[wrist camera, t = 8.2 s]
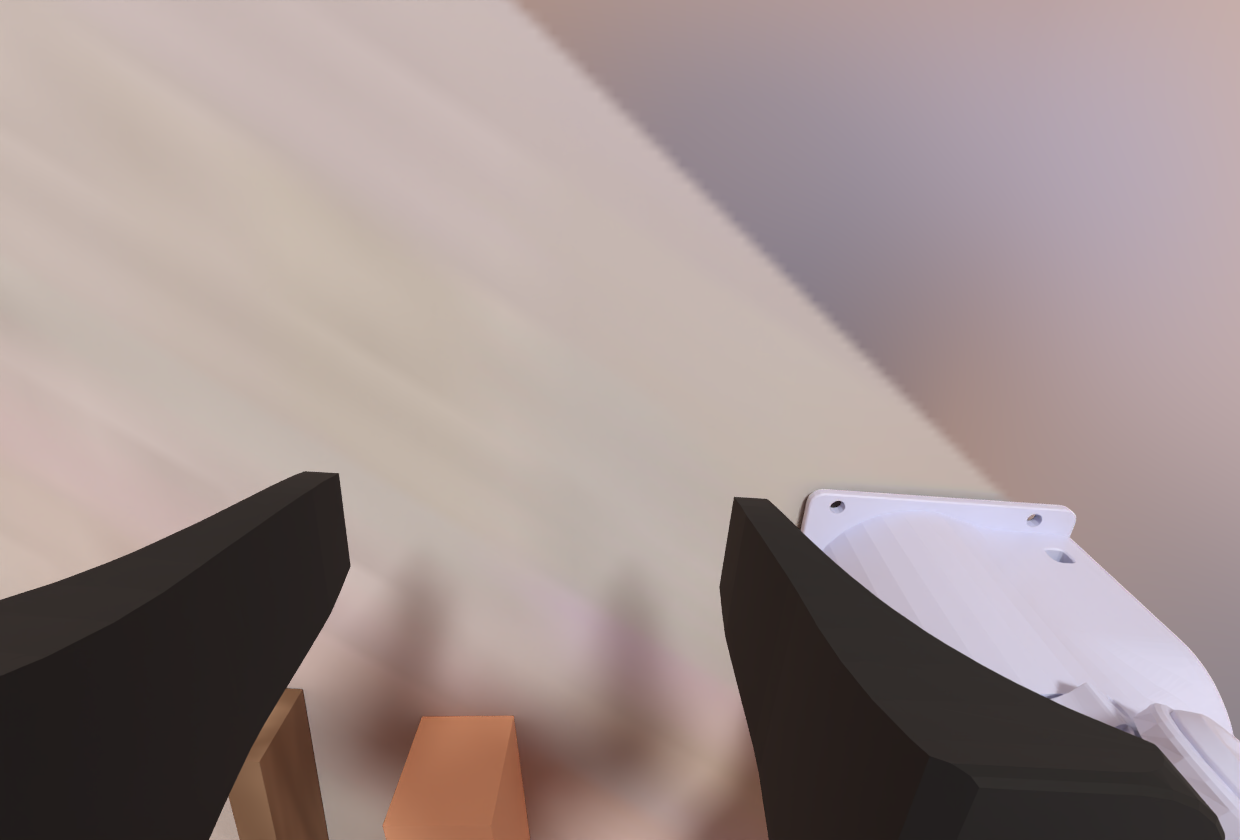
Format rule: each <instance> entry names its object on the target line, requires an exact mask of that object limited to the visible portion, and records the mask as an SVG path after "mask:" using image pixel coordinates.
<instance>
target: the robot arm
mask: <svg viewBox="0 0 1240 840" xmlns="http://www.w3.org/2000/svg"><path fill="white" fill-rule="evenodd" d="M835 501H842V503H841V504H840V505H839V506H838V507H835V508H832V507H830V506H831V504H832V503H833V502H835ZM1034 514H1036V515H1035V517H1034V518H1033V519H1031V520H1029V521H1027V519H1028V518H1029V517H1030V516H1031V515H1034ZM1075 522H1076V516H1075V513H1073V512H1072V511H1071V510H1070V509H1069V508H1067V507H1066V506H1063V505H1052V504H1051V505H1050V504H1036V503H1022V502H1007V501H993V500H978V499H963V498H949V497H934V496H919V495H905V494H890V493H875V492H860V491H846V490H831V489H819V490H816V491H814V492H812V493H811V494H810V495H809V497H808V499H807V502H806V507H805V512H804V517H803V521H802V526H801V530H800V529H799V528H797V527H796V526H795V525H794V524H793V523H792V522H791V521H790V520H789V519H788V518H787V517H786V516H785V515H784V514H783V513H782V512H781V511H780V510H779V509H778V508H777V507H776V506H775V505H773V504H772V503H771V502H770V501H769V500H768V499H758V498H741V497H734V501H733V507H732V513H731V519H730V525H729V532H728V538H727V544H726V550H725V556H724V562H723V569H722V575H721V581H720V596H721V606H722V615H723V622H724V630H725V637H726V641H727V645H728V649H729V653H730V657H731V661H732V665H733V669H734V673H735V677H736V681H737V685H738V689H739V693H740V697H741V701H742V705H743V708H744V712H745V716H746V720H747V724H748V728H749V732H750V736H751V740H752V744H753V748H754V752H755V757H756V762H757V767H758V771H759V777H760V784H761V790H762V797H763V804H764V810H765V817H766V824H767V830H768V837H769V840H1240V741H1239V740H1238V739H1236V738H1235V737H1234V736H1233V731H1232V727H1231V723H1230V720H1229V717H1228V714H1227V711H1226V708H1225V706H1224V704H1223V701H1222V699H1221V696H1220V694H1219V692H1218V690H1217V688H1216V686H1215V684H1214V682H1213V680H1212V679H1211V677H1210V675H1209V674H1208V672H1207V671H1206V669H1205V667H1204V666H1203V665H1202V664H1201V662H1200V661H1199V659H1198V658H1197V657H1196V656H1195V655H1194V653H1193V652H1192V651H1191V650H1190V649H1189V648H1188V647H1187V646H1186V645H1185V644H1184V643H1183V642H1182V641H1181V640H1180V639H1179V638H1178V637H1177V636H1176V635H1175V634H1174V633H1173V632H1172V631H1170V630H1169V629H1168V628H1167V627H1166V626H1165V625H1164V624H1163V623H1162V622H1161V621H1160V620H1159V619H1157V618H1156V617H1155V616H1154V615H1153V614H1152V613H1151V612H1150V611H1149V610H1148V609H1147V608H1146V607H1144V606H1143V605H1142V604H1141V603H1140V602H1139V601H1138V600H1137V599H1136V598H1135V597H1134V596H1133V595H1131V594H1130V593H1129V592H1128V591H1127V590H1126V589H1125V588H1124V587H1123V586H1122V585H1121V584H1120V583H1119V582H1117V581H1116V580H1115V579H1114V578H1113V577H1112V576H1111V575H1110V574H1109V573H1108V572H1107V571H1106V570H1104V569H1103V568H1102V567H1101V566H1100V565H1099V564H1098V563H1097V562H1096V561H1095V560H1094V559H1093V558H1091V557H1090V556H1089V555H1088V554H1087V553H1086V552H1085V551H1084V550H1083V549H1082V548H1081V547H1080V546H1078V545H1077V544H1076V543H1075V542H1074V541H1073V540H1072V539H1071V538H1070V535H1071V532H1072V530H1073V528H1074V525H1075ZM349 569H350V559H349V551H348V543H347V535H346V527H345V519H344V511H343V503H342V495H341V488H340V480H339V473H323V472H307V471H305V472H302V473H299V474H297V475H294V476H292V477H289V478H287V479H285V480H283V481H281V482H279V483H277V484H275V485H272V486H270V487H268V488H266V489H264V490H262V491H260V492H258V493H256V494H254V495H252V496H250V497H248V498H246V499H244V500H242V501H240V502H238V503H236V504H234V505H232V506H230V507H228V508H226V509H224V510H222V511H220V512H218V513H216V514H214V515H212V516H210V517H208V518H206V519H204V520H202V521H200V522H198V523H196V524H194V525H192V526H190V527H187V528H185V529H183V530H181V531H179V532H177V533H174V534H172V535H170V536H168V537H166V538H164V539H161V540H159V541H157V542H155V543H153V544H151V545H148V546H146V547H144V548H142V549H140V550H137V551H135V552H133V553H130V554H128V555H125V556H123V557H121V558H118V559H116V560H113V561H111V562H108V563H106V564H103V565H101V566H98V567H95V568H93V569H90V570H87V571H85V572H82V573H79V574H77V575H74V576H71V577H69V578H66V579H63V580H60V581H58V582H55V583H52V584H49V585H46V586H43V587H40V588H36V589H33V590H30V591H27V592H24V593H21V594H18V595H14V596H11V597H8V598H5V599H2V600H0V840H209V838H210V836H211V834H212V831H213V829H214V827H215V825H216V822H217V820H218V818H219V816H220V813H221V811H222V809H223V807H224V804H225V802H226V800H227V798H228V796H229V794H230V792H231V790H232V788H233V785H234V783H235V781H236V779H237V777H238V775H239V773H240V771H241V769H242V766H243V764H244V762H245V760H246V758H247V756H248V754H249V752H250V750H251V748H252V746H253V744H254V742H255V740H256V739H257V737H258V735H259V733H260V731H261V729H262V728H263V726H264V724H265V722H266V721H267V719H268V717H269V716H270V714H271V712H272V711H273V709H274V707H275V706H276V704H277V702H278V701H279V699H280V697H281V696H282V694H283V693H284V691H285V689H286V688H287V686H288V684H289V683H290V681H291V679H292V678H293V676H294V674H295V673H296V671H297V669H298V668H299V666H300V665H301V663H302V661H303V660H304V658H305V656H306V655H307V653H308V651H309V650H310V648H311V646H312V645H313V643H314V641H315V640H316V638H317V636H318V634H319V633H320V631H321V629H322V628H323V626H324V624H325V623H326V621H327V619H328V617H329V616H330V614H331V612H332V609H333V607H334V605H335V603H336V600H337V598H338V596H339V593H340V591H341V589H342V586H343V584H344V581H345V579H346V576H347V574H348V571H349Z"/></svg>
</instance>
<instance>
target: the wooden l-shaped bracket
mask: <svg viewBox="0 0 1240 840" xmlns="http://www.w3.org/2000/svg"><path fill="white" fill-rule="evenodd" d="M229 800H230V803H231V807H232V811H233V815H234V819H235V823H236V827H237V831H238V835H239V838H240V840H328V834H327V829H326V823H325V817H324V811H323V805H322V800H321V794H320V788H319V782H318V777H317V771H316V765H315V759H314V753H313V748H312V742H311V736H310V730H309V725H308V719H307V713H306V707H305V701H304V696H303V690H302V689H287V688H286V689H285V691H284V693H283V694H282V696H281V697H280V699H279V701H278V702H277V704H276V706H275V707H274V709H273V711H272V712H271V714H270V716H269V717H268V719H267V721H266V722H265V724H264V726H263V728H262V729H261V731H260V733H259V735H258V737H257V739H256V740H255V742H254V744H253V746H252V748H251V750H250V752H249V754H248V756H247V758H246V760H245V762H244V764H243V766H242V769H241V771H240V773H239V775H238V777H237V779H236V781H235V783H234V785H233V788H232V790H231V792H230V794H229Z"/></svg>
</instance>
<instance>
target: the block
mask: <svg viewBox="0 0 1240 840" xmlns="http://www.w3.org/2000/svg"><path fill="white" fill-rule="evenodd" d="M383 829H384V833H385V837H386V840H530V835H529V827H528V820H527V812H526V805H525V797H524V790H523V782H522V774H521V767H520V759H519V752H518V744H517V737H516V729H515V722H514V716H430V717H422V718H421V721H420V724H419V727H418V729H417V732H416V735H415V738H414V740H413V743H412V746H411V749H410V752H409V754H408V757H407V760H406V763H405V765H404V768H403V771H402V774H401V776H400V779H399V782H398V785H397V787H396V790H395V793H394V796H393V799H392V801H391V804H390V807H389V810H388V812H387V815H386V818H385V821H384V823H383Z"/></svg>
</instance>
